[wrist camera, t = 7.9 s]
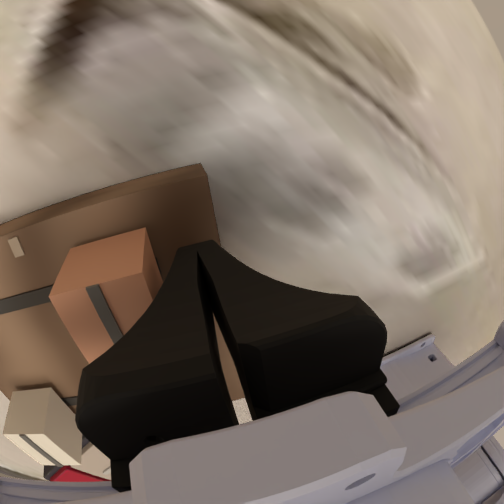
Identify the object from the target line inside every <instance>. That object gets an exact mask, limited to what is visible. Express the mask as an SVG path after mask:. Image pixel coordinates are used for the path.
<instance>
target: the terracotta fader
mask: <svg viewBox="0 0 504 504" xmlns="http://www.w3.org/2000/svg"><path fill="white" fill-rule="evenodd" d="M162 284H163V280H162V277H161V274H160V271H159V268H158V265H157V262H156V259H155V256H154V253H153V250H152V247H151V243H150V240H149V237H148V234H147V230H146V227H145V228H141V229H137V230H134V231H130V232H126V233H123V234H119V235H115V236H112V237H108V238H105V239H101V240H98V241H94V242H91V243H87V244H84V245H80V246H77V247H74V248H70V250H69V252H68V254H67V257H66V259H65V261H64V263H63V265H62V267H61V269H60V272H59V274H58V276H57V278H56V281H55V283H54V285H53V287H52V290H51V292H50V295H49V298H50V300H51V302H52V304H53V306H54V307H55V309H56V311H57V313H58V315H59V316H60V318H61V320H62V321H63V323H64V325H65V327H66V328H67V330H68V332H69V333H70V335H71V336H72V338H73V340H74V341H75V343H76V344H77V346H78V348H79V349H80V351H81V352H82V354H83V355H84V357H85V358H86V360H87V361H88V363H89V364H90V363H91V362H93V361H94V360H95V359H97V358H98V357H99V356H101V355H102V354H103V353H105V352H106V351H107V350H108V349H109V348H111V347H112V346H113V345H114V344H115V343H116V342H117V341H118V340H120V339H121V338H122V337H123V336H124V335H125V334H126V333H127V332H128V331H129V330H130V329H131V327H132V326H133V325H134V324H135V323H136V322H137V321H138V319H139V318H140V317H141V316H142V315H143V314H144V312H145V311H146V310H147V308H148V307H149V306H150V304H151V303H152V301H153V300H154V298H155V296H156V295H157V293H158V291H159V289H160V288H161V286H162Z"/></svg>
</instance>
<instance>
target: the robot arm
mask: <svg viewBox="0 0 504 504" xmlns="http://www.w3.org/2000/svg"><path fill="white" fill-rule="evenodd" d="M213 314H214V316H215V319H216V321H217V324H218V326H219V329H220V331H221V333H222V336H223V338H224V341H225V343H226V345H227V348H228V350H229V352H230V355H231V357H232V360H233V362H234V365H235V368H236V371H237V374H238V377H239V380H240V383H241V386H242V389H243V392H244V396H245V399H246V402H247V405H248V408H249V411H250V414H251V417H252V420H253V421H251V422H247V423H244V424H240V425H239V423H238V420H237V417H236V413H235V410H234V407H233V404H232V400H231V397H230V394H229V390H228V387H227V384H226V380H225V377H224V373H223V369H222V365H221V360H220V354H219V348H218V342H217V335H216V329H215V323H214V316H213ZM434 340H435V336H434V335H433V334H430V335H428V336H426V337H424V338H422V339H420V340H418V341H416V342H414V343H412V344H410V345H408V346H406V347H404V348H402V349H400V350H398V351H396V352H394V353H391V354H389V355H387V356H385V357H383V354H384V350H385V346H386V342H387V330H386V327H385V324H384V323H383V322H382V321H381V320H380V319H379V317H378V316H377V315H376V314H375V313H374V311H373V310H372V309H371V308H370V307H369V306H368V305H367V304H366V303H365V302H364V301H363V300H361V299H360V298H359V297H358V296H350V295H340V294H329V293H323V292H318V291H312V290H308V289H303V288H299V287H296V286H292V285H289V284H286V283H283V282H280V281H277V280H275V279H272V278H270V277H268V276H265V275H263V274H261V273H259V272H257V271H255V270H253V269H251V268H250V267H248V266H246V265H245V264H243V263H242V262H240V261H239V260H237V259H236V258H235V257H233V256H232V255H231V254H229V253H228V252H227V251H225V250H224V249H223V248H222V247H221V246H220V245H219V244H218V243H217V242H215V241H214V240H208V241H204V242H200V243H196V244H192V245H188V246H184V247H180V248H178V249H177V251H176V254H175V257H174V260H173V262H172V265H171V267H170V269H169V272H168V274H167V276H166V278H165V280H164V282H163V284H162V286H161V288H160V289H159V291H158V293H157V295H156V296H155V298H154V300H153V301H152V303H151V304H150V306H149V307H148V308H147V310H146V311H145V312H144V314H143V315H142V316H141V317H140V318H139V319H138V321H137V322H136V323H135V324H134V325H133V326H132V327H131V329H130V330H129V331H128V332H127V333H126V334H125V335H124V336H123V337H122V338H121V339H120V340H118V341H117V342H116V343H115V344H114V345H113V346H112V347H111V348H109V349H108V350H107V351H106V352H105V353H103V354H102V355H101V356H99V357H98V358H97V359H95V360H94V361H93V362H91V363H90V364H89V365H87V366H86V367H84V368H83V369H82V374H81V378H80V382H79V387H78V395H77V404H76V415H75V422H76V425H77V428H78V429H79V431H80V432H81V433H82V434H83V436H84V437H85V438H86V439H87V440H89V441H90V442H91V443H92V444H93V445H94V446H95V447H96V448H97V449H99V450H100V451H101V452H102V453H103V454H104V455H105V456H107V457H108V458H109V459H110V466H111V481H99V482H57V481H38V480H26V479H16V478H8V477H1V476H0V504H504V449H503V448H502V447H501V446H500V444H499V443H498V441H497V440H496V439H495V438H494V436H493V435H494V434H495V433H496V432H497V431H498V430H499V429H500V428H501V427H502V426H503V425H504V320H503V322H502V323H501V324H500V326H499V328H498V330H497V332H496V334H495V337H494V340H492V341H491V342H490V343H488V344H487V345H486V346H484V347H483V348H481V349H480V350H479V351H477V352H476V353H474V354H473V355H472V356H470V357H469V358H467V359H466V360H464V361H463V362H461V363H460V364H458V365H457V366H455V367H454V365H453V364H452V363H451V362H450V361H449V360H448V359H447V358H446V356H445V355H444V354H443V353H442V352H441V351H440V350H439V349H438V348H437V346H436V345H435V344H434V343H433V342H434ZM480 447H481V448H480ZM495 468H496V469H497V470H496V469H495ZM498 472H499V473H498Z"/></svg>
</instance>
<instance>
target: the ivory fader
mask: <svg viewBox="0 0 504 504" xmlns="http://www.w3.org/2000/svg"><path fill="white" fill-rule="evenodd" d="M3 435H4V436H6V437H7V438H8V439H9V440H10V441H11V442H13V443H14V444H15V445H16V446H17V447H19V448H20V449H21V450H22V451H24V452H25V453H26V454H27V455H29V456H30V457H31V458H33V459H34V460H35V461H37V462H38V463H39V464H41V465H56V466H57V467H63V465H81V454H82V433H81V432H80V431H79V429H78V428H77V425H76V422H75V414H74V413H73V412H72V411H71V410H70V408H69V407H68V406H67V405H66V404H65V403H64V402H63V401H62V400H61V398H60V397H59V396H58V395H57V394H56V393H55V391H54V390H53V389H52V388H51V387H50V388H41V389H33V390H23V391H13V392H12V396H11V400H10V404H9V408H8V412H7V417H6V421H5V426H4V431H3Z"/></svg>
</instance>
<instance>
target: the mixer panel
mask: <svg viewBox="0 0 504 504" xmlns="http://www.w3.org/2000/svg"><path fill="white" fill-rule="evenodd" d="M145 227H146V230H147V234H148V237H149V240H150V243H151V247H152V250H153V253H154V256H155V259H156V262H157V265H158V268H159V271H160V274H161V277H162V280H163V282H164V280H165V278H166V276H167V274H168V272H169V269H170V267H171V265H172V262H173V260H174V257H175V254H176V251H177V249H178V248H180V247H184V246H188V245H192V244H196V243H200V242H204V241H208V240H214V241H215V242H217V243H218V244H219V245H220V246H221V244H220V239H219V234H218V229H217V224H216V219H215V214H214V209H213V204H212V199H211V193H210V188H209V183H208V178H207V174H206V172H205V170H204V169H203V167H202V165H201V163H199V164H194V165H190V166H185V167H181V168H177V169H173V170H169V171H165V172H161V173H157V174H153V175H149V176H145V177H142V178H138V179H134V180H131V181H127V182H124V183H120V184H117V185H113V186H110V187H106V188H103V189H100V190H97V191H93V192H90V193H87V194H84V195H81V196H78V197H75V198H72V199H69V200H66V201H63V202H60V203H57V204H54V205H51V206H48V207H45V208H43V209H40V210H37V211H34V212H32V213H29V214H26V215H24V216H21V217H19V218H16V219H14V220H11V221H8V222H6V223H4V224H1V225H0V390H1V391H2V392H3V394H4V395H5V396H6V397H7V398H8V399H9V400H11V396H12V392H13V391H23V390H33V389H41V388H50V387H51V388H52V389H53V390H54V391H55V393H56V394H57V395H58V396H59V397H60V398H61V400H62V401H63V402H64V403H65V404H66V405H67V406H68V407H69V408H70V410H71V411H72V412H73V413H74V414H75V415H76V404H77V395H78V387H79V382H80V378H81V374H82V369H83V368H84V367H86V366H87V365H89V363H88V361H87V360H86V358H85V357H84V355H83V354H82V352H81V351H80V349H79V348H78V346H77V344H76V343H75V341H74V340H73V338H72V336H71V335H70V333H69V332H68V330H67V328H66V327H65V325H64V323H63V321H62V320H61V318H60V316H59V315H58V313H57V311H56V309H55V307H54V306H53V304H52V302H51V300H50V298H49V295H50V292H51V290H52V287H53V285H54V283H55V281H56V278H57V276H58V274H59V272H60V269H61V267H62V265H63V263H64V261H65V259H66V257H67V254H68V252H69V250H70V248H74V247H77V246H80V245H84V244H87V243H91V242H94V241H98V240H101V239H105V238H108V237H112V236H115V235H119V234H123V233H126V232H130V231H134V230H137V229H141V228H145ZM213 316H214V314H213ZM214 323H215V329H216V335H217V342H218V348H219V354H220V360H221V365H222V369H223V373H224V377H225V380H226V384H227V387H228V390H229V394H230V397H231V400H232V401H234V400H237V399H241V398H245V396H244V392H243V389H242V386H241V383H240V380H239V377H238V374H237V371H236V368H235V365H234V362H233V360H232V357H231V355H230V352H229V350H228V348H227V345H226V343H225V341H224V338H223V336H222V333H221V331H220V329H219V326H218V324H217V321H216V319H215V316H214Z"/></svg>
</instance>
